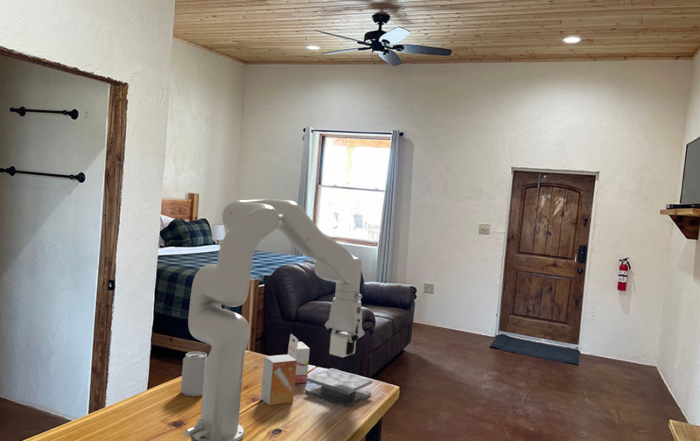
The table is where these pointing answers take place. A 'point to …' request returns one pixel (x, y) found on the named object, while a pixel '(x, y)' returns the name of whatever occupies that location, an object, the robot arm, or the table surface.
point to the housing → (339, 344)
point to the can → (193, 373)
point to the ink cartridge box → (299, 358)
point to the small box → (278, 379)
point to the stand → (338, 387)
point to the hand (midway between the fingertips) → (342, 351)
